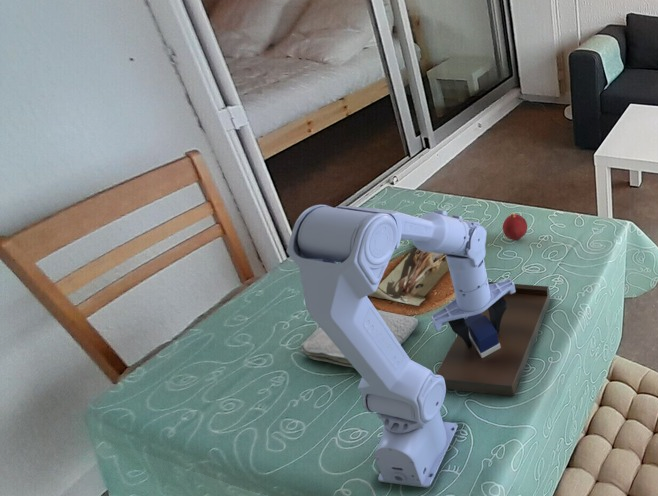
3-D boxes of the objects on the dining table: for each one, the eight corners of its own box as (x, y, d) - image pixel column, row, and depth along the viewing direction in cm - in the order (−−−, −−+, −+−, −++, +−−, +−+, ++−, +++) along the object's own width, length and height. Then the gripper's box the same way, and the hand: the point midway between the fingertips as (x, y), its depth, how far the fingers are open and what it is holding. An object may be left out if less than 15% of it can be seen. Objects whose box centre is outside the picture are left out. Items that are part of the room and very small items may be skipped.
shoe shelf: (514, 396, 85) (511, 380, 83) (436, 388, 86) (431, 372, 84) (550, 300, 104) (548, 286, 102) (486, 295, 106) (483, 281, 104)
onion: (502, 236, 124) (498, 209, 120) (525, 230, 126) (521, 203, 123) (507, 249, 119) (503, 222, 116) (531, 243, 121) (527, 216, 118)
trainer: (501, 348, 90) (497, 332, 89) (481, 358, 88) (478, 342, 87) (482, 320, 96) (479, 304, 95) (464, 329, 94) (460, 313, 93)
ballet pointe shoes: (485, 206, 125) (419, 283, 100) (488, 227, 128) (425, 308, 103) (435, 199, 127) (359, 273, 103) (440, 220, 130) (367, 297, 105)
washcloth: (344, 310, 102) (340, 299, 101) (422, 324, 99) (419, 312, 98) (297, 358, 92) (292, 346, 91) (383, 375, 88) (378, 363, 87)
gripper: (499, 251, 93) (509, 305, 99) (419, 286, 85) (435, 343, 91) (516, 271, 88) (525, 327, 94) (433, 310, 80) (448, 368, 86)
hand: (482, 336), depth 92 cm, fingers open, 5 cm apart
